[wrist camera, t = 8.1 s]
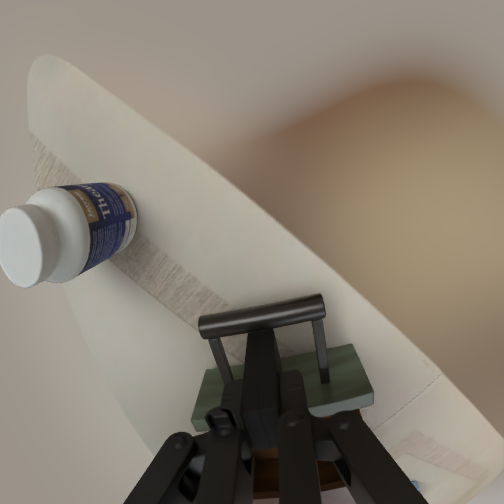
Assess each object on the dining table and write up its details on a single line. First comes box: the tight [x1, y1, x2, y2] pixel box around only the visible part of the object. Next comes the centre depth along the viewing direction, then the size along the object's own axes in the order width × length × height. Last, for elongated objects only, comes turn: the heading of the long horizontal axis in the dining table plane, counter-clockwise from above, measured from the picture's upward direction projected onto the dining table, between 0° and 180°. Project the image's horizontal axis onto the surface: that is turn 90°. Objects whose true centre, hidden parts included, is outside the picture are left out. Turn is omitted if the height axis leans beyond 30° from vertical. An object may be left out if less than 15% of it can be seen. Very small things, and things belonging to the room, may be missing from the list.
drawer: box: [191, 293, 374, 493], centre depth 19 cm, size 19×11×6 cm, turn 13°
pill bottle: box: [0, 183, 137, 288], centre depth 15 cm, size 5×5×10 cm
